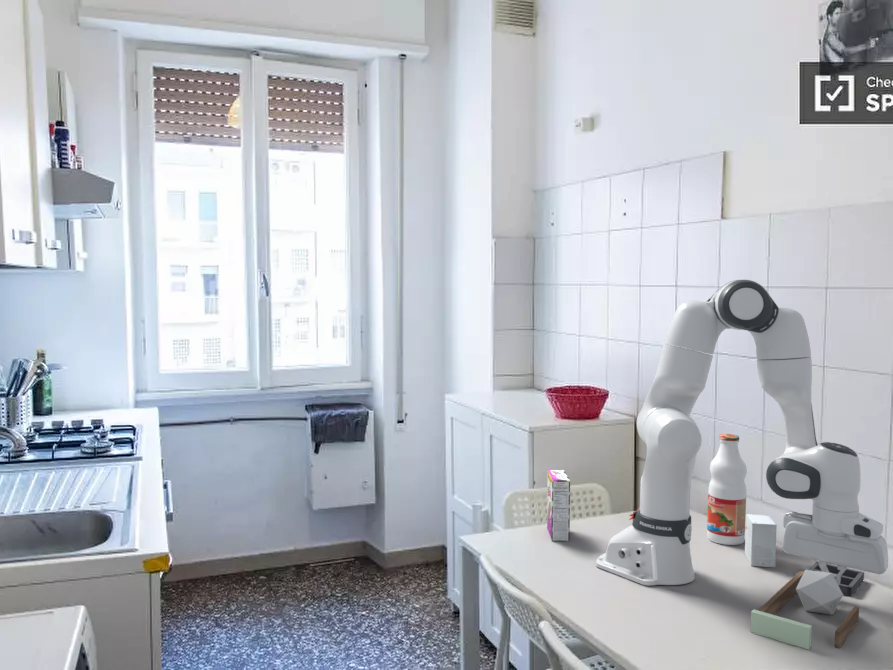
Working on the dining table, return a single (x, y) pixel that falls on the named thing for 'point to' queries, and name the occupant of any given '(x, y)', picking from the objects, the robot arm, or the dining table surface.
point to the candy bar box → (558, 505)
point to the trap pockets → (844, 578)
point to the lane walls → (790, 590)
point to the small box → (760, 540)
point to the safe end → (781, 629)
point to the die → (819, 592)
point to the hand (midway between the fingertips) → (832, 582)
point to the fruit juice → (727, 494)
